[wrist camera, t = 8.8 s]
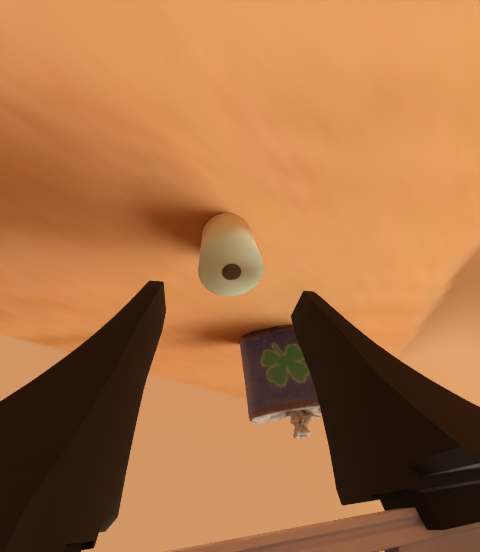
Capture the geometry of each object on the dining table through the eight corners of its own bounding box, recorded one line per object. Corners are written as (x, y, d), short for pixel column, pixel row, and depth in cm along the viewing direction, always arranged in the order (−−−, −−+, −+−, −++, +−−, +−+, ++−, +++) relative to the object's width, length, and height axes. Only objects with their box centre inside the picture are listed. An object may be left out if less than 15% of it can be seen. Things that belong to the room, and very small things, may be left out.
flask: (240, 345, 26) (253, 450, 17) (237, 332, 24) (250, 443, 16) (307, 334, 26) (352, 433, 18) (309, 320, 24) (361, 423, 16)
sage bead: (205, 260, 17) (203, 299, 13) (198, 215, 14) (192, 246, 10) (250, 256, 17) (262, 293, 13) (250, 210, 15) (264, 239, 11)
